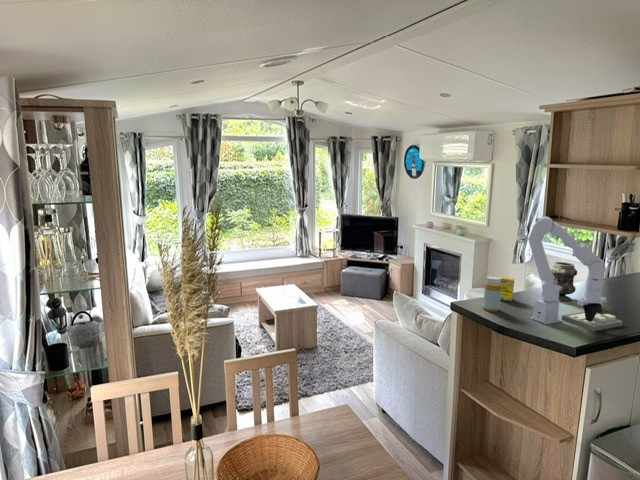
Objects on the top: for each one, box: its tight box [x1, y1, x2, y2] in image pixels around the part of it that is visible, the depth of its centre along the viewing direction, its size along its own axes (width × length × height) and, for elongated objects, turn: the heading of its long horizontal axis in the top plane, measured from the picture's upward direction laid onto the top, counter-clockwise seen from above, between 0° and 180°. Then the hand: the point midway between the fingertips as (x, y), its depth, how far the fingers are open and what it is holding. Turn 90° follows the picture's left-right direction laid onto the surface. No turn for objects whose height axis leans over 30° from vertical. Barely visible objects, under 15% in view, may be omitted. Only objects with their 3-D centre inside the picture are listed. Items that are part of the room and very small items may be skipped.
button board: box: [561, 311, 623, 332], centre depth 185 cm, size 18×14×2 cm
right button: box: [602, 313, 617, 321], centre depth 185 cm, size 4×4×2 cm
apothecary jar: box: [550, 261, 578, 302], centre depth 217 cm, size 12×12×18 cm
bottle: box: [482, 275, 501, 313], centre depth 199 cm, size 7×7×15 cm
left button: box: [582, 320, 596, 325], centre depth 180 cm, size 4×4×2 cm
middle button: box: [593, 316, 606, 323], centre depth 182 cm, size 4×4×2 cm
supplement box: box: [500, 276, 515, 303], centre depth 214 cm, size 6×6×11 cm
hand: (589, 320), depth 180 cm, fingers closed
